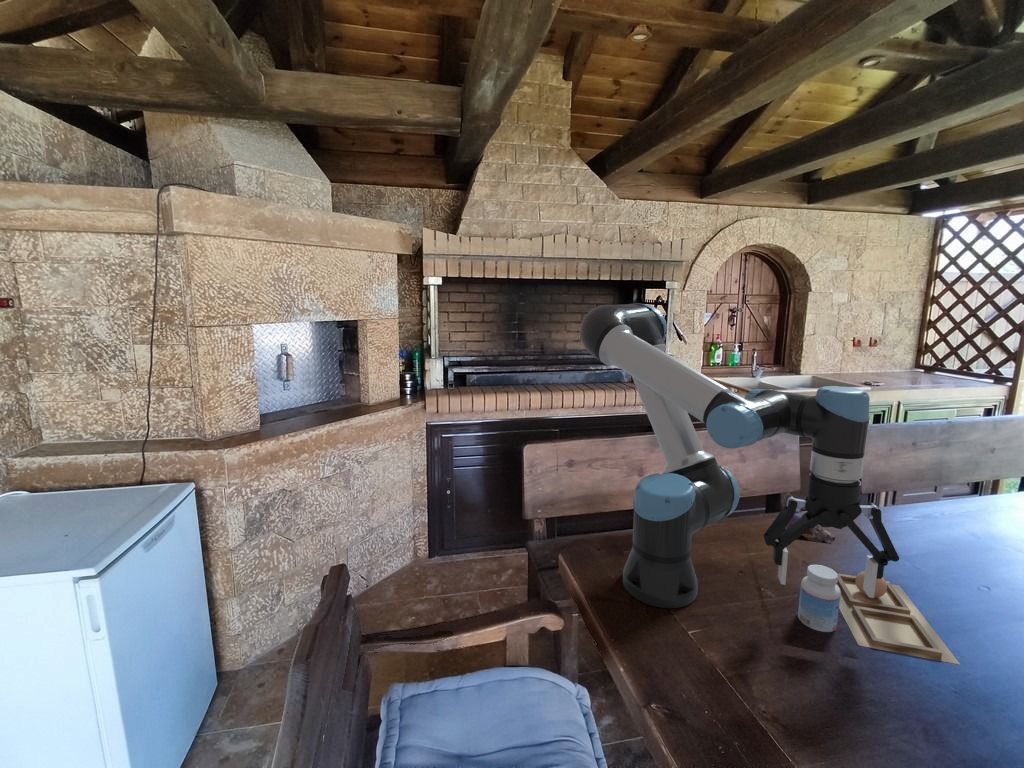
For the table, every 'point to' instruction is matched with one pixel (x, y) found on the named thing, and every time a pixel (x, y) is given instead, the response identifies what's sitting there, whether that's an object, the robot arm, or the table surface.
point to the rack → (889, 622)
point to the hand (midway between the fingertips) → (823, 586)
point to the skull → (812, 530)
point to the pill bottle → (819, 599)
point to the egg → (879, 587)
